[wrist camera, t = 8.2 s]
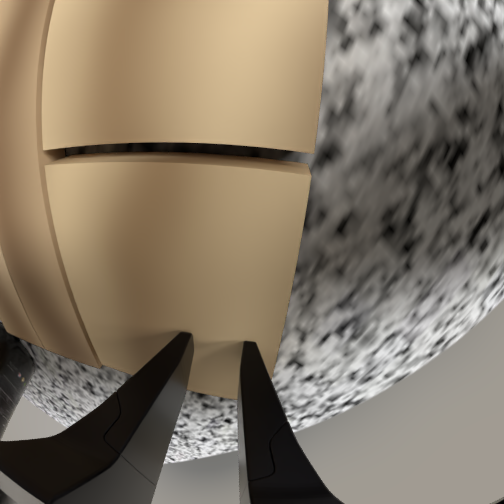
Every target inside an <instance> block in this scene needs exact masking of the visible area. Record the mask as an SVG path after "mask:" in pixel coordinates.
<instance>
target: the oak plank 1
mask: <svg viewBox="0 0 504 504" xmlns="http://www.w3.org/2000/svg"><path fill="white" fill-rule="evenodd" d="M327 18H328V0H55V3H54V7H53V11H52V16H51V20H50V25H49V31H48V37H47V43H46V50H45V59H44V69H43V82H42V141H43V150H50V149H58V148H66V147H76V146H86V145H99V144H115V143H142V142H184V143H212V144H229V145H242V146H254V147H264V148H273V149H282V150H290V151H297V152H305V153H311V154H314V150H315V143H316V135H317V127H318V119H319V110H320V101H321V92H322V82H323V71H324V60H325V48H326V34H327Z"/></svg>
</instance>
